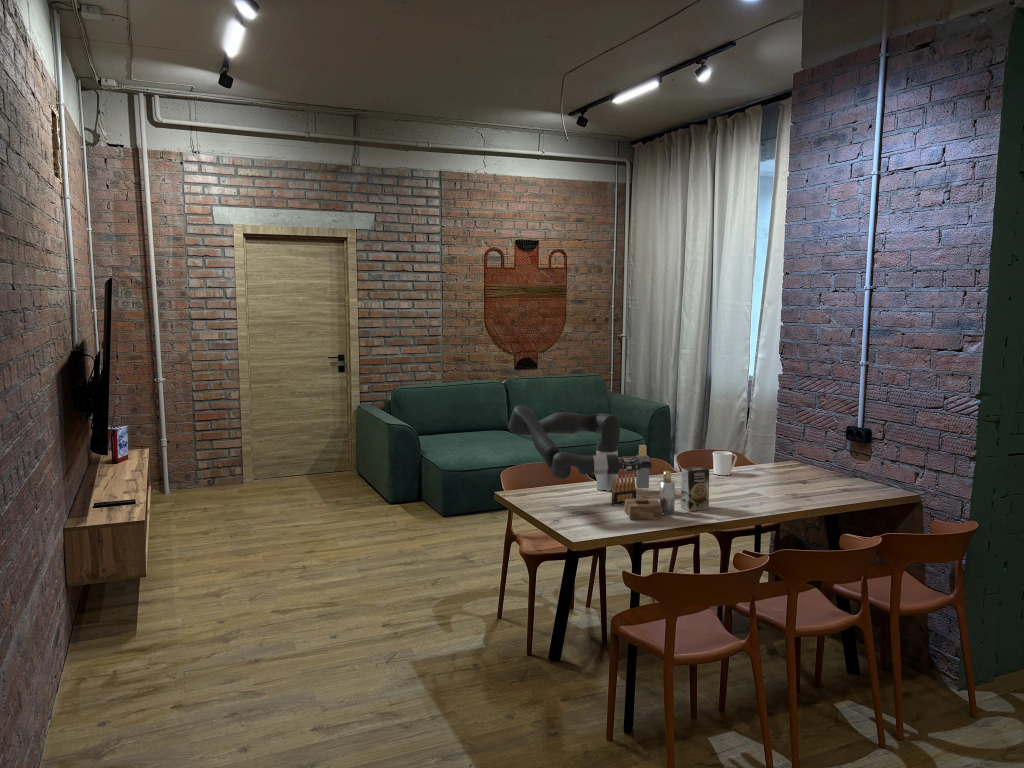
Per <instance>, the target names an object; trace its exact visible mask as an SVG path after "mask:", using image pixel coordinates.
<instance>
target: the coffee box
mask: <svg viewBox="0 0 1024 768" xmlns="http://www.w3.org/2000/svg"><path fill="white" fill-rule="evenodd" d="M680 480H681V482H680V485H681V487H680V488H681V489H680V490H681V491H680V508H681V509H683V510H686V511H687V512H696V510H698V511H706V510H709V509H710V469H709V468H707V467H705V466H704V467H703V466H693V467H692V466H691V467H690V466H689V467H688V466H687V467H681V479H680Z"/></svg>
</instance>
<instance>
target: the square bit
mask: <svg viewBox="0 0 1024 768" xmlns="http://www.w3.org/2000/svg"><path fill="white" fill-rule="evenodd" d="M647 450H648V449H647V445H646V444H638V454H636V457H635V458H636V462H650V456H649V455H647ZM636 467H638V465H636ZM635 471H636V472H635V473H636V476H635V477H636V478H635V487H636V488H637V489H649V488H650V468H642V469H641V470H635Z"/></svg>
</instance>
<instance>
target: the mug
mask: <svg viewBox="0 0 1024 768" xmlns="http://www.w3.org/2000/svg"><path fill="white" fill-rule="evenodd" d="M733 456H734V460H733ZM712 459H713V461H712V462H713V463H712V464H713V475H714V476H716V475H717V477H728V476H727V475H730V476H731V475H732V470H733V468H734V466H735V464H736V462H737V459H738V456H737V455H736V454H735V453H733V452H731V451H728V450H726V451H725V450H724V451H723V450H718V451H717V450H715V451H713V452H712ZM732 460H733V461H732Z"/></svg>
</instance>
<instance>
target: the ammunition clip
mask: <svg viewBox="0 0 1024 768" xmlns="http://www.w3.org/2000/svg"><path fill="white" fill-rule="evenodd" d="M635 477H636V476H635V473H634V472H633V473H632V475H631V473H628V475H627V474H626V473H625V475H623V474H621V476H620V475H619V474H618V476H617V484H616V478H615V475H614V477H613V485H612V491H611V503H612V504H620V505H623V504H622V503H625V499H636V498H637V490H636V478H635ZM612 504H611V505H612Z"/></svg>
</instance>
